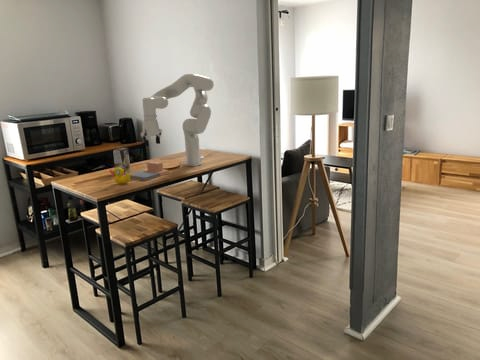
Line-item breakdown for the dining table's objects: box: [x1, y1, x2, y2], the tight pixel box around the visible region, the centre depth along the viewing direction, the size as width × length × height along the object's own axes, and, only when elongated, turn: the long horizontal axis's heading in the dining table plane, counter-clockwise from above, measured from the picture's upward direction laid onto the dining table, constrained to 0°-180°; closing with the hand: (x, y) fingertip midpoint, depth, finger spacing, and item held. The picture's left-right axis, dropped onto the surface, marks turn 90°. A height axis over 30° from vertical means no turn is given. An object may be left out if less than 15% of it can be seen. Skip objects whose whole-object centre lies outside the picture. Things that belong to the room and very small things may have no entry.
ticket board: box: [129, 169, 160, 182], centre depth 246 cm, size 12×16×2 cm
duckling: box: [109, 167, 131, 185], centre depth 231 cm, size 11×5×10 cm, turn 96°
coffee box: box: [112, 147, 131, 176], centre depth 256 cm, size 9×6×16 cm
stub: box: [142, 160, 170, 177], centre depth 254 cm, size 8×16×7 cm, turn 56°
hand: (152, 144), depth 250 cm, fingers open, 9 cm apart
